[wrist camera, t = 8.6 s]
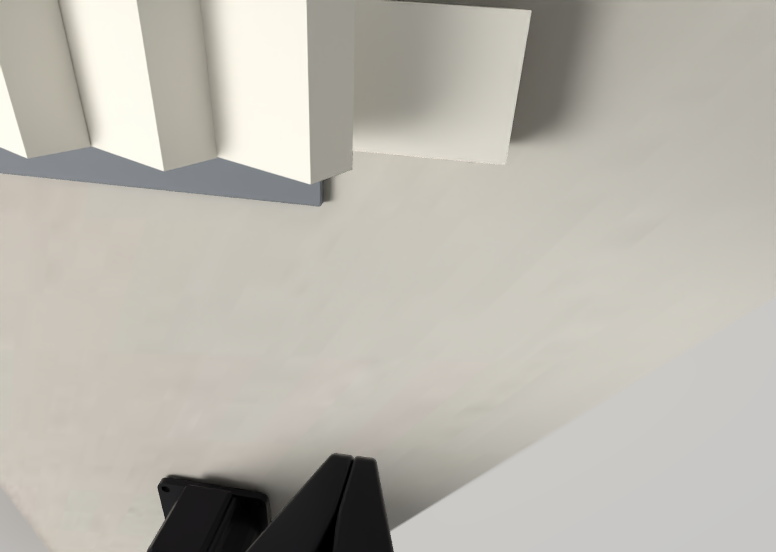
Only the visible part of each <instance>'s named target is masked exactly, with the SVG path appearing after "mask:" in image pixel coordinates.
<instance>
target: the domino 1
mask: <svg viewBox="0 0 776 552" xmlns="http://www.w3.org/2000/svg"><path fill="white" fill-rule="evenodd" d="M0 147H1V148H3V149H6V150H8V151H10V152H13V153H15V154H18V155H20V156H22V157H25V158H27V159H28V158H33V157H39V156H44V155H49V154H55V153H60V152H65V151H71V150H76V149H81V148H87V147H91V144H90V139H89V135H88V130H87V126H86V122H85V117H84V113H83V108H82V104H81V100H80V95H79V91H78V86H77V82H76V78H75V73H74V69H73V64H72V60H71V56H70V51H69V47H68V42H67V38H66V34H65V29H64V25H63V20H62V16H61V12H60V7H59V3H58V0H0Z"/></svg>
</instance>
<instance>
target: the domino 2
mask: <svg viewBox="0 0 776 552" xmlns="http://www.w3.org/2000/svg"><path fill="white" fill-rule="evenodd" d="M58 3H59V7H60V12H61V16H62V20H63V25H64V29H65V34H66V38H67V42H68V47H69V51H70V56H71V60H72V64H73V69H74V73H75V78H76V82H77V86H78V91H79V95H80V100H81V104H82V108H83V113H84V117H85V122H86V126H87V130H88V135H89V139H90V144H91V146H92V147H95V148H98V149H101V150H104V151H107V152H109V153H112V154H115V155H118V156H121V157H124V158H127V159H130V160H133V161H135V162H138V163H141V164H144V165H147V166H150V167H153V168H156V169H158V170H161V171H168V170H172V169H176V168H180V167H184V166H188V165H192V164H196V163H200V162H204V161H208V160H211V159H215V158H217V152H216V143H215V134H214V125H213V116H212V106H211V97H210V88H209V79H208V69H207V60H206V51H205V42H204V33H203V23H202V14H201V5H200V0H58Z"/></svg>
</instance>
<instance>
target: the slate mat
mask: <svg viewBox="0 0 776 552" xmlns="http://www.w3.org/2000/svg"><path fill="white" fill-rule="evenodd" d="M0 173H3V174H13V175H22V176H32V177H42V178H51V179H61V180H70V181H80V182H90V183H99V184H109V185H118V186H128V187H138V188H147V189H157V190H166V191H176V192H186V193H195V194H205V195H214V196H224V197H234V198H243V199H253V200H262V201H272V202H282V203H291V204H301V205H310V206H321V205H322V203H323V180H322V181H319V182H316V183H314V184H311V185H310V184H307V183H304V182H300V181H297V180H294V179H290V178H287V177H283V176H280V175H277V174H273V173H270V172H266V171H263V170H260V169H256V168H253V167H250V166H246V165H243V164H239V163H236V162H233V161H229V160H226V159H223V158H219V157H217V158H215V159H211V160H208V161H204V162H200V163H196V164H192V165H188V166H184V167H180V168H176V169H172V170H168V171H161V170H158V169H156V168H153V167H150V166H147V165H144V164H141V163H138V162H135V161H133V160H130V159H127V158H124V157H121V156H118V155H115V154H112V153H109V152H107V151H104V150H101V149H98V148H95V147H92V146H91V147H87V148H81V149H76V150H71V151H65V152H60V153H55V154H49V155H44V156H39V157H33V158H28V159H27V158H25V157H22V156H20V155H18V154H15V153H13V152H10V151H8V150H6V149H3V148H1V147H0Z"/></svg>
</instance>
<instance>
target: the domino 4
mask: <svg viewBox="0 0 776 552" xmlns="http://www.w3.org/2000/svg"><path fill="white" fill-rule="evenodd" d="M531 11H532V10H527V9H513V8H497V7H481V6H466V5H450V4H434V3H418V2H402V1H386V0H355V42H354V99H353V151H359V152H370V153H381V154H391V155H402V156H413V157H424V158H435V159H445V160H456V161H467V162H478V163H489V164H499V165H506V160H507V154H508V148H509V142H510V136H511V130H512V124H513V118H514V113H515V107H516V101H517V95H518V89H519V83H520V77H521V71H522V65H523V59H524V53H525V47H526V41H527V35H528V29H529V23H530V17H531Z"/></svg>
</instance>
